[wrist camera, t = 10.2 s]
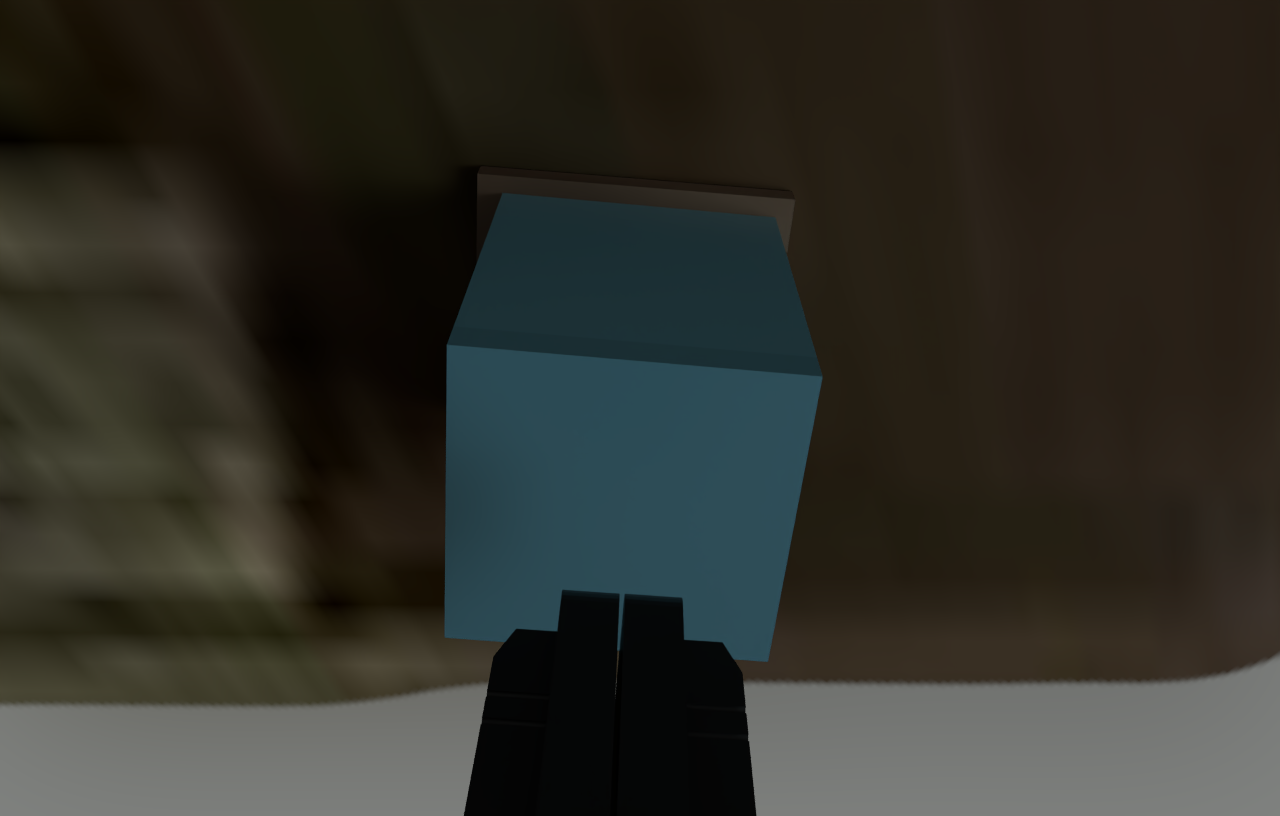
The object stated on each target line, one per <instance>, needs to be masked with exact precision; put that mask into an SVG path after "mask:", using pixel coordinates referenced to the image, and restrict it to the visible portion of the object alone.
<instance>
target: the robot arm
mask: <svg viewBox="0 0 1280 816" xmlns="http://www.w3.org/2000/svg"><path fill="white" fill-rule="evenodd" d="M619 601H620V594H619V593H605V592H590V591H576V590H562V594H561V603H560V611H559V620H558V628H557V631H545V630H530V629H515V631H514V632H513V633H512V634H511V635H510V637H509V638H508V639H507V640H506V642H505V643H504V644H503V645H502V647H501V648H500V649H499V650H498V652H497V653H496V654H495V655H494V657H493V662H492V667H491V673H490V678H489V683H488V689H487V697H486V700H485V705H484V711H483V716H482V724H481V726H480V732H479V737H478V742H477V748H476V753H475V758H474V764H473V769H472V774H471V780H470V785H469V791H468V797H467V802H466V807H465V812H464V816H756V808H755V797H754V787H753V777H752V767H751V756H750V747H749V741H748V725H747V715H746V713H745V708H746V706H745V695H744V684H743V674H742V672H741V670H740V668H739V667H738V665H737V664H736V662H735V661H734V659H733V658H732V656H731V655H730V653H729V651H728V650H727V648H726V647H725V645H724V644H723V642H712V641H697V640H684V617H683V599H682V597H667V596H652V595H638V594H625V595H624V604H623V615H622V626H621V637H620V649H619V660H618V672H617V683H616V669H617V646H618V624H619ZM615 691H616V695H615Z"/></svg>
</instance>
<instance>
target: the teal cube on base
mask: <svg viewBox="0 0 1280 816" xmlns="http://www.w3.org/2000/svg"><path fill="white" fill-rule="evenodd" d="M821 381H822V373H821V370H820V367H819V363H818V360H817V357H816V353H815V350H814V346H813V343H812V340H811V336H810V333H809V329H808V326H807V323H806V319H805V316H804V312H803V309H802V306H801V302H800V299H799V295H798V292H797V289H796V285H795V282H794V279H793V275H792V272H791V268H790V265H789V262H788V258H787V255H786V251H785V248H784V245H783V241H782V238H781V234H780V231H779V228H778V224H777V221H776V218H775V217H765V216H754V215H742V214H731V213H720V212H709V211H698V210H687V209H676V208H665V207H654V206H642V205H631V204H620V203H609V202H598V201H587V200H576V199H565V198H553V197H542V196H531V195H520V194H509V193H502V196H501V199H500V201H499V204H498V207H497V209H496V212H495V215H494V218H493V220H492V223H491V226H490V229H489V231H488V234H487V237H486V239H485V242H484V245H483V248H482V250H481V253H480V256H479V259H478V261H477V264H476V267H475V270H474V272H473V275H472V278H471V280H470V283H469V286H468V289H467V291H466V294H465V297H464V300H463V302H462V305H461V308H460V310H459V313H458V316H457V319H456V321H455V324H454V327H453V330H452V332H451V335H450V338H449V340H448V343H447V402H446V534H445V638H458V639H472V640H485V641H498V642H506V640H507V639H508V638H509V637H510V635H511V634H512V633H513V632H514V631H515V629H530V630H545V631H557V628H558V620H559V611H560V603H561V594H562V590H576V591H590V592H605V593H619V594H620V601H619V624H618V646H617V650H618V651H619V649H620V637H621V626H622V615H623V604H624V595H625V594H638V595H652V596H667V597H682V599H683V617H684V640H697V641H712V642H723V644H724V645H725V647H726V648H727V650H728V651H729V653H730V655H731V656H732V658H733V659H738V660H752V661H765V662H768V658H769V653H770V648H771V642H772V637H773V632H774V627H775V621H776V616H777V611H778V606H779V601H780V595H781V590H782V585H783V580H784V575H785V569H786V564H787V559H788V554H789V548H790V543H791V538H792V533H793V528H794V522H795V517H796V512H797V507H798V501H799V496H800V491H801V486H802V481H803V475H804V470H805V465H806V460H807V454H808V449H809V444H810V439H811V434H812V428H813V423H814V418H815V413H816V408H817V402H818V397H819V392H820V387H821Z"/></svg>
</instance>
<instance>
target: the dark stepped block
mask: <svg viewBox="0 0 1280 816" xmlns="http://www.w3.org/2000/svg"><path fill="white" fill-rule="evenodd" d="M502 193H509V194H520V195H531V196H542V197H553V198H565V199H576V200H587V201H598V202H609V203H620V204H631V205H642V206H654V207H665V208H676V209H687V210H698V211H709V212H720V213H731V214H742V215H754V216H765V217H775V218H776V221H777V224H778V228H779V231H780V234H781V238H782V241H783V245H784V248H785V251H786V255H787V249H788V243H789V236H790V230H791V223H792V217H793V210H794V204H795V198H794V195H793V192H792V191H782V190H770V189H757V188H745V187H733V186H721V185H709V184H696V183H684V182H672V181H660V180H648V179H635V178H623V177H611V176H599V175H586V174H574V173H562V172H550V171H538V170H525V169H513V168H501V167H489V166H481V167H480V169H479V171H478V173H477V251H476V264H477V261H478V259H479V256H480V253H481V250H482V248H483V245H484V242H485V239H486V237H487V234H488V231H489V229H490V226H491V223H492V220H493V218H494V215H495V212H496V209H497V207H498V204H499V201H500V199H501V196H502Z"/></svg>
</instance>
